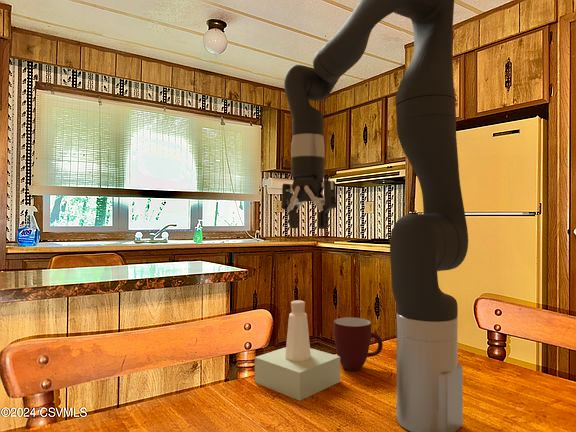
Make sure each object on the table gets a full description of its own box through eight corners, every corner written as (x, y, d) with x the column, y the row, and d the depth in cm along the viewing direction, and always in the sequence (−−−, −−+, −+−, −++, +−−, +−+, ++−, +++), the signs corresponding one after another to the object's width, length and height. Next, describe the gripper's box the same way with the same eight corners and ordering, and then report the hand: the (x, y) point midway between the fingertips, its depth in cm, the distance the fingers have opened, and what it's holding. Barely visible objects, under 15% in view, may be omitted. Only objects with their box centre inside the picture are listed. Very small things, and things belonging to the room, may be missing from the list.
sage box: (340, 381, 84) (340, 356, 84) (299, 400, 75) (299, 372, 75) (295, 366, 92) (295, 343, 92) (254, 382, 84) (254, 357, 84)
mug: (375, 360, 97) (375, 316, 97) (387, 373, 89) (387, 325, 89) (329, 362, 95) (329, 317, 95) (338, 375, 87) (338, 327, 87)
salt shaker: (290, 363, 80) (290, 305, 80) (280, 354, 85) (280, 299, 85) (316, 359, 82) (316, 302, 82) (304, 351, 87) (304, 297, 87)
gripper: (343, 155, 93) (343, 228, 93) (295, 160, 103) (295, 227, 103) (321, 151, 88) (321, 229, 88) (273, 157, 98) (273, 228, 98)
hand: (307, 228), depth 95 cm, fingers open, 8 cm apart
